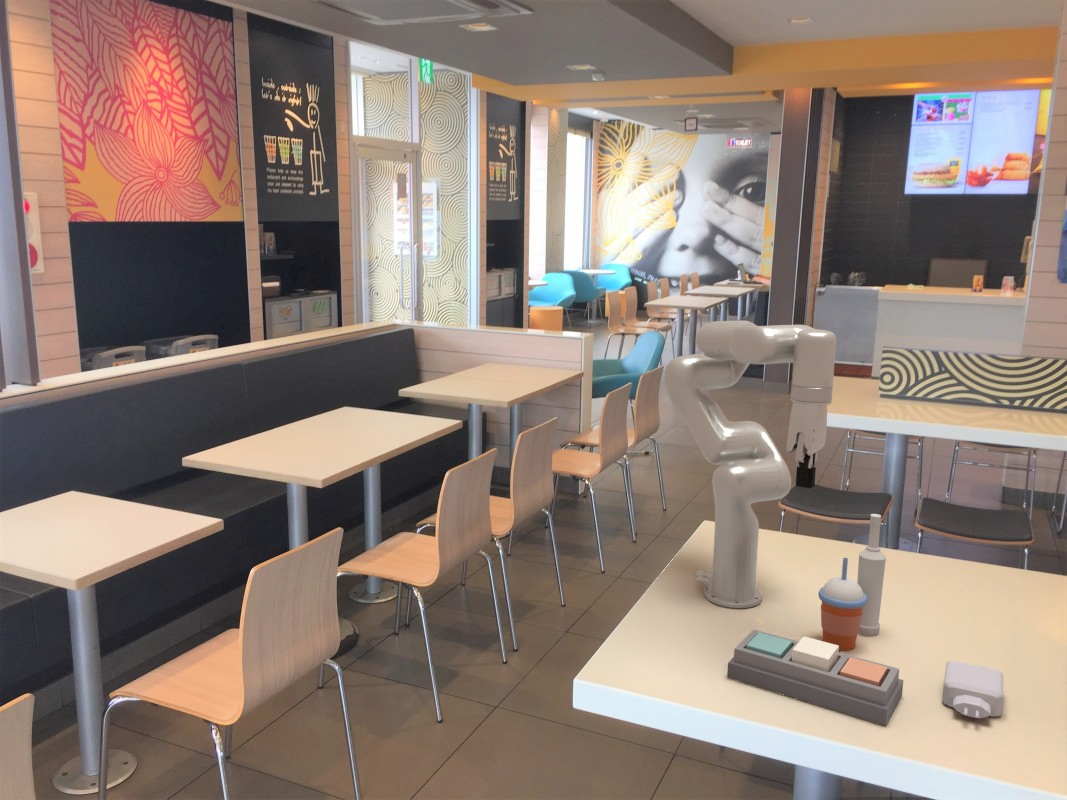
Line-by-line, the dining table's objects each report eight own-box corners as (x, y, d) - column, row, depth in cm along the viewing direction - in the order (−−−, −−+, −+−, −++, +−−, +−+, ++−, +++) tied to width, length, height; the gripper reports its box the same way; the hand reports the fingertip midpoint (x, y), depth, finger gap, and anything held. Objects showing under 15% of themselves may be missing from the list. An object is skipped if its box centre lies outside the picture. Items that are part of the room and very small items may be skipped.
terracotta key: (838, 687, 153) (840, 671, 153) (848, 672, 159) (850, 657, 158) (877, 698, 150) (878, 682, 149) (886, 682, 155) (887, 667, 154)
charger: (939, 722, 149) (944, 682, 162) (1000, 736, 144) (1000, 695, 158) (942, 696, 148) (946, 659, 161) (1004, 710, 144) (1003, 670, 157)
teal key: (745, 660, 163) (746, 645, 162) (758, 646, 168) (758, 632, 167) (779, 669, 159) (780, 654, 159) (791, 656, 164) (792, 641, 164)
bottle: (881, 637, 179) (892, 520, 174) (854, 635, 180) (864, 518, 175) (876, 626, 184) (887, 512, 179) (850, 624, 185) (860, 510, 180)
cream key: (791, 665, 158) (792, 649, 157) (802, 651, 163) (803, 636, 162) (827, 675, 154) (828, 659, 154) (837, 660, 159) (839, 645, 159)
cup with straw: (862, 637, 179) (869, 553, 176) (863, 657, 171) (870, 569, 167) (815, 630, 182) (821, 547, 178) (814, 649, 173) (820, 563, 170)
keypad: (727, 677, 162) (728, 649, 161) (750, 652, 172) (752, 626, 171) (885, 726, 147) (888, 695, 146) (902, 695, 157) (904, 667, 155)
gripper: (804, 386, 177) (798, 474, 180) (779, 398, 165) (773, 492, 168) (842, 390, 173) (835, 480, 176) (819, 402, 160) (812, 499, 164)
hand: (805, 486), depth 172 cm, fingers closed
